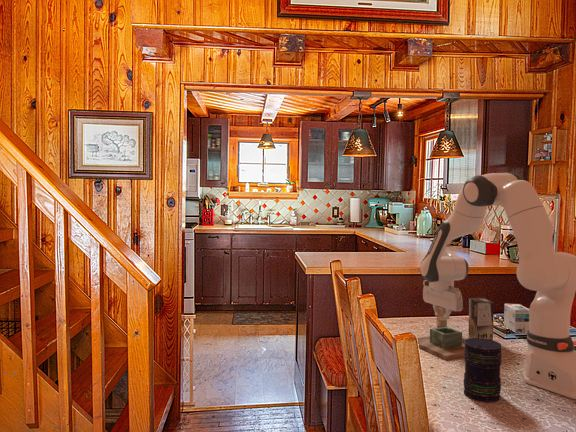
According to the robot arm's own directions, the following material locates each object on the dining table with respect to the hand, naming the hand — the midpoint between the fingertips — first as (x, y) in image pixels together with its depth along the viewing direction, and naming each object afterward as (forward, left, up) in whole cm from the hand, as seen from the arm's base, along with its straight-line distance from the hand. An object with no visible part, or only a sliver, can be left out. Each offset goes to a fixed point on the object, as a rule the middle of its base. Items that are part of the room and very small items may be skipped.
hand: (441, 317), depth 198 cm
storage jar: (-54, +33, -6) cm, 64 cm away
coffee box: (-17, -4, -6) cm, 18 cm away
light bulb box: (-14, -27, -6) cm, 31 cm away
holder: (-18, +14, -6) cm, 23 cm away
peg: (0, 0, -6) cm, 6 cm away
